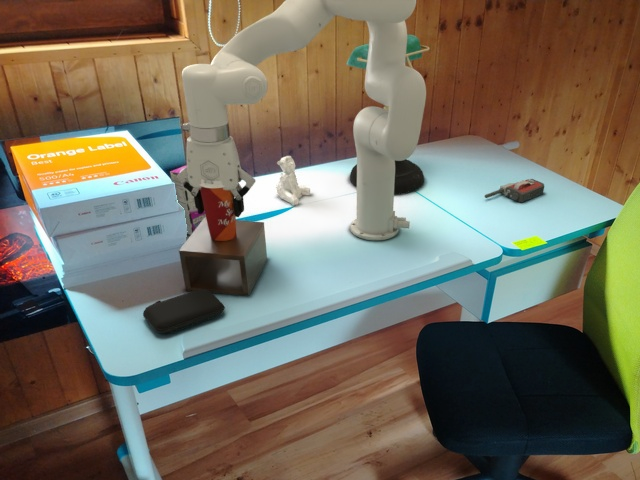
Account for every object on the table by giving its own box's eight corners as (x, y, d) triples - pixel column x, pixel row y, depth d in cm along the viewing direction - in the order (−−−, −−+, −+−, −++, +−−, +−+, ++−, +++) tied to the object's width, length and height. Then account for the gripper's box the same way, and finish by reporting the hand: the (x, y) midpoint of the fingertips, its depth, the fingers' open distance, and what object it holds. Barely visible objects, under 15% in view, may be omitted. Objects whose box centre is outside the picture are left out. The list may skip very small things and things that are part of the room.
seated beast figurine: (295, 206, 174) (293, 165, 167) (268, 200, 177) (265, 159, 170) (312, 194, 181) (310, 154, 174) (286, 188, 184) (283, 148, 177)
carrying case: (206, 293, 137) (139, 315, 129) (204, 281, 135) (136, 303, 127) (228, 315, 130) (159, 340, 122) (227, 303, 128) (156, 328, 120)
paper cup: (232, 245, 134) (224, 184, 126) (199, 240, 135) (189, 179, 127) (247, 229, 140) (240, 169, 132) (215, 224, 141) (206, 165, 133)
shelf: (267, 259, 150) (264, 222, 144) (248, 296, 137) (244, 256, 131) (209, 255, 150) (204, 217, 144) (185, 290, 137) (178, 250, 131)
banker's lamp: (383, 158, 207) (387, 27, 184) (441, 177, 196) (453, 40, 173) (330, 182, 189) (327, 40, 166) (391, 204, 178) (397, 55, 155)
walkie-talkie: (524, 183, 195) (481, 199, 184) (526, 170, 193) (483, 185, 181) (547, 193, 190) (504, 210, 179) (549, 179, 187) (506, 195, 176)
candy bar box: (212, 216, 167) (203, 157, 157) (225, 221, 165) (218, 161, 155) (179, 232, 159) (168, 170, 149) (193, 237, 157) (183, 175, 147)
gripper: (159, 134, 121) (174, 217, 132) (247, 141, 121) (255, 224, 131) (174, 122, 128) (187, 202, 138) (258, 128, 127) (265, 208, 137)
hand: (220, 212), depth 134 cm, fingers closed on paper cup, 7 cm apart
